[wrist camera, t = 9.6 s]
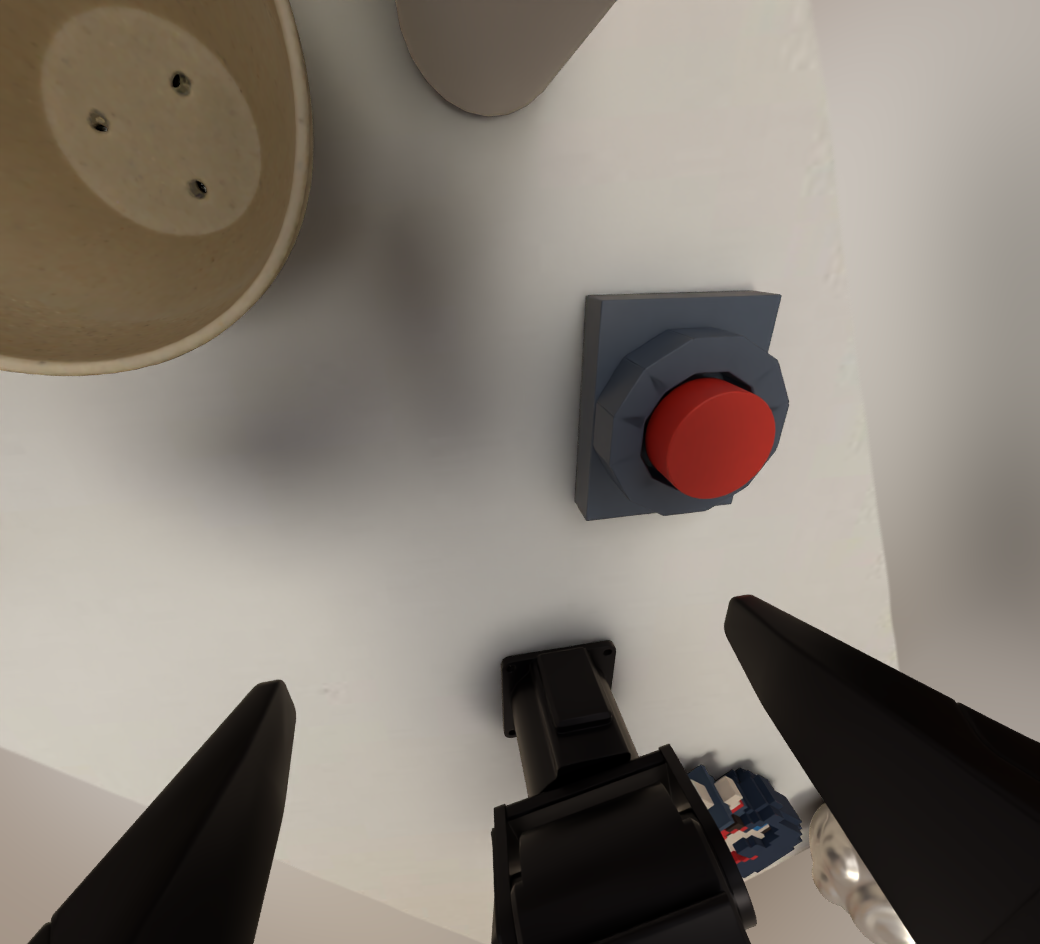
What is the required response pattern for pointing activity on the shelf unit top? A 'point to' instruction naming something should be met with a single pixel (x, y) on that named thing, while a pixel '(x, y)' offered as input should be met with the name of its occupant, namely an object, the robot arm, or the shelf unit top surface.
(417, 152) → the shelf unit top surface
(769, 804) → the figurine
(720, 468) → the button
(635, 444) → the button block
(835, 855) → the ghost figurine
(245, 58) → the bowl
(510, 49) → the beverage can
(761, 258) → the shelf unit top surface
